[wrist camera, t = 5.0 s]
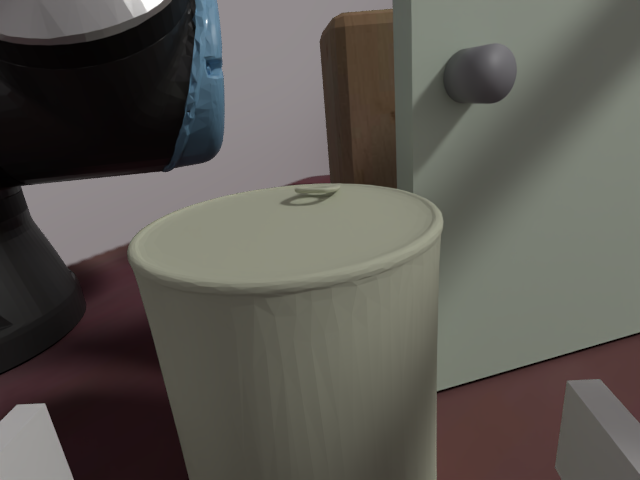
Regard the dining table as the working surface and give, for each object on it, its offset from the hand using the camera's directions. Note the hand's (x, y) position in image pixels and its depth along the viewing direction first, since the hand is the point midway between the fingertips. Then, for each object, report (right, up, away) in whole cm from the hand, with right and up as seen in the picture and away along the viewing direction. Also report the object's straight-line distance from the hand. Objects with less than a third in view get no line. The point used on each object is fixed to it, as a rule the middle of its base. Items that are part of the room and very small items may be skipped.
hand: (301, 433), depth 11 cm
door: (+13, -1, +13) cm, 19 cm away
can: (0, -5, +6) cm, 8 cm away
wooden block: (+7, +4, +30) cm, 32 cm away
